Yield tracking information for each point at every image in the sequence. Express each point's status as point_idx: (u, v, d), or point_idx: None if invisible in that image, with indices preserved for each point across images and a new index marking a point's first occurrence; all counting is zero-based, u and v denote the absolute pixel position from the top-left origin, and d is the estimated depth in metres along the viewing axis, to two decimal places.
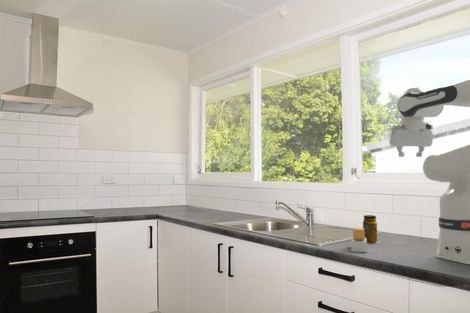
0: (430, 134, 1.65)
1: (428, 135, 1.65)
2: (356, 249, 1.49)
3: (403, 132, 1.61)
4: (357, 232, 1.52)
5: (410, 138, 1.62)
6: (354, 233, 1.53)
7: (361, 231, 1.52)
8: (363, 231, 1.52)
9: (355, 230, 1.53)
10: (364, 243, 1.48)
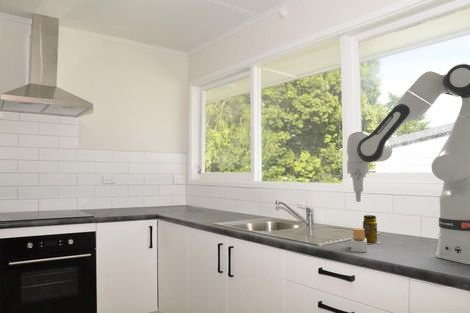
0: (363, 177, 1.69)
1: None
2: (356, 249, 1.49)
3: None
4: (357, 232, 1.52)
5: None
6: (354, 233, 1.53)
7: (361, 231, 1.52)
8: (363, 231, 1.52)
9: (355, 230, 1.53)
10: (364, 243, 1.48)
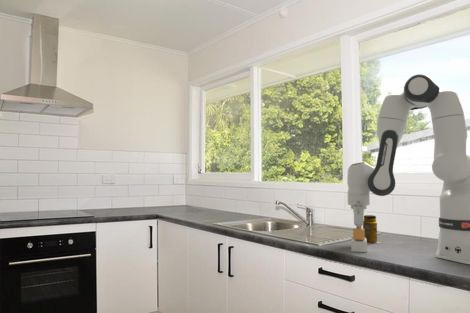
0: None
1: (363, 209, 1.64)
2: (356, 249, 1.49)
3: None
4: (357, 232, 1.52)
5: None
6: (354, 233, 1.52)
7: (361, 231, 1.51)
8: (363, 231, 1.51)
9: (355, 230, 1.52)
10: (364, 243, 1.48)
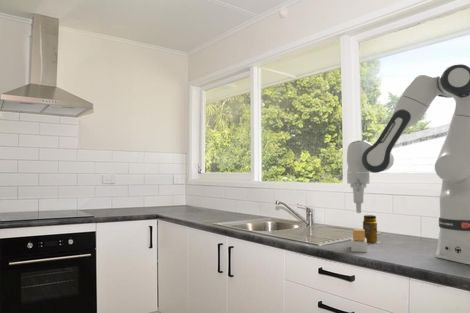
0: (363, 187, 1.63)
1: (362, 188, 1.62)
2: (356, 249, 1.49)
3: None
4: (357, 233, 1.50)
5: None
6: (354, 234, 1.50)
7: (361, 232, 1.49)
8: (363, 232, 1.49)
9: (355, 231, 1.50)
10: (364, 243, 1.48)
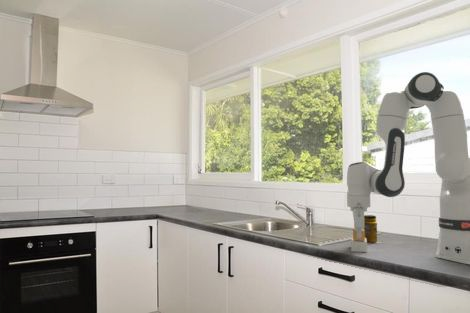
0: None
1: None
2: (356, 249, 1.49)
3: None
4: None
5: None
6: (354, 234, 1.50)
7: None
8: (363, 232, 1.49)
9: (355, 231, 1.50)
10: (364, 243, 1.48)
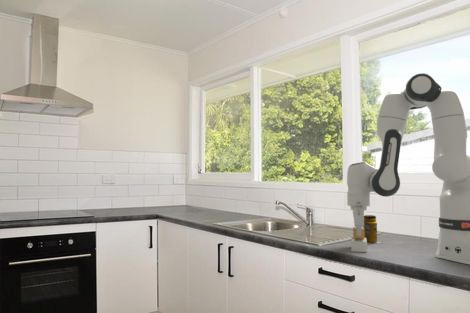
0: None
1: None
2: (356, 249, 1.49)
3: None
4: None
5: None
6: (354, 232, 1.55)
7: (361, 230, 1.54)
8: (363, 230, 1.54)
9: (355, 229, 1.55)
10: (364, 243, 1.48)
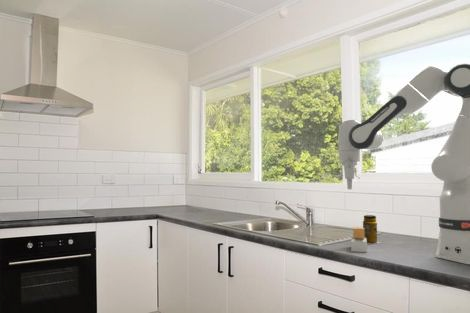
0: (354, 166, 1.70)
1: (353, 167, 1.69)
2: (356, 249, 1.49)
3: None
4: (357, 231, 1.55)
5: None
6: (354, 232, 1.55)
7: (361, 230, 1.54)
8: (363, 230, 1.54)
9: (355, 229, 1.55)
10: (364, 243, 1.48)
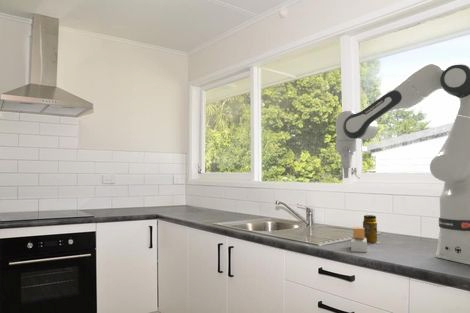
0: (351, 156, 1.76)
1: (350, 157, 1.75)
2: (356, 249, 1.49)
3: None
4: (357, 231, 1.55)
5: None
6: (354, 232, 1.55)
7: (361, 230, 1.54)
8: (363, 230, 1.54)
9: (355, 229, 1.55)
10: (364, 243, 1.48)
